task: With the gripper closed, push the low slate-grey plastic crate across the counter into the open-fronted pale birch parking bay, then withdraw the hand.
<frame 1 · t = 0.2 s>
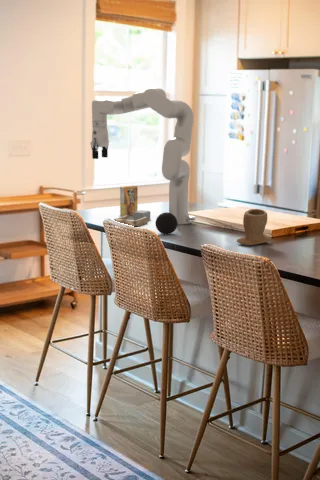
hand: (100, 158, 371), 31 cm above the kitchen island, tool pointing down, fingers open, 9 cm apart
bay: (130, 224, 355), on the kitchen island
speaker: (166, 234, 329), on the kitchen island
crate: (141, 220, 366), on the kitchen island
candy box: (129, 215, 383), on the kitchen island
stone cup: (255, 244, 307), on the kitchen island
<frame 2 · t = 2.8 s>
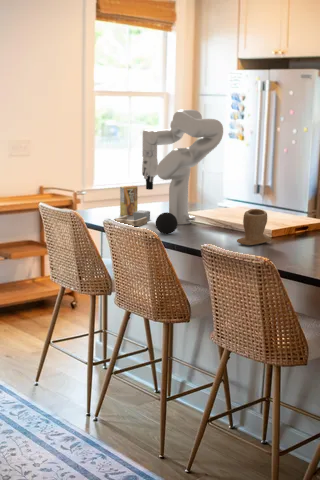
hand: (149, 189, 373), 15 cm above the kitchen island, tool pointing down, fingers closed
nothing on the kitchen island moved.
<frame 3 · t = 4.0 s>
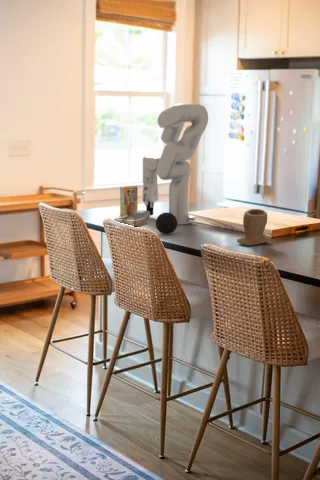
hand: (149, 214, 375), 1 cm above the kitchen island, tool pointing down, fingers closed
nothing on the kitchen island moved.
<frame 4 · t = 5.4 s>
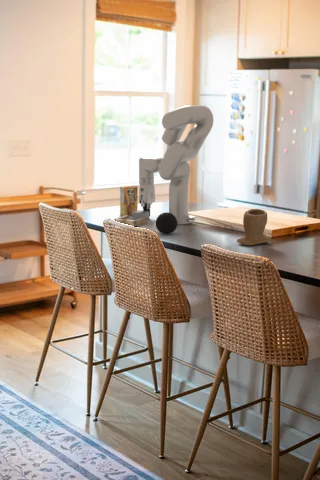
hand: (146, 216, 371), 1 cm above the kitchen island, tool pointing down, fingers closed
crate: (140, 220, 366), on the kitchen island, touching gripper
everything else where it was.
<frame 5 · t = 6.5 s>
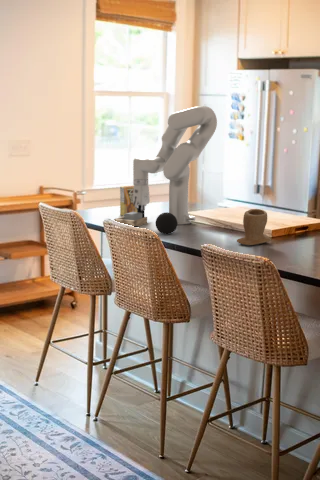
hand: (140, 218, 365), 1 cm above the kitchen island, tool pointing down, fingers closed
crate: (133, 222, 361), on the kitchen island
everything else where it was.
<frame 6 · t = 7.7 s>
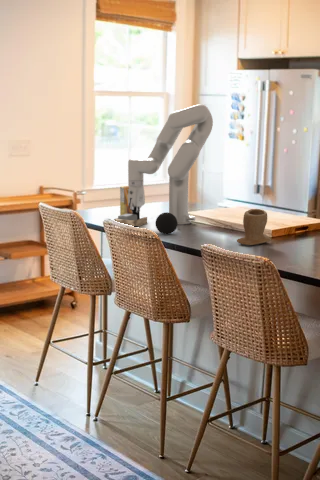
hand: (136, 219, 360), 1 cm above the kitchen island, tool pointing down, fingers closed
crate: (127, 224, 356), on the kitchen island, touching bay
everything else where it was.
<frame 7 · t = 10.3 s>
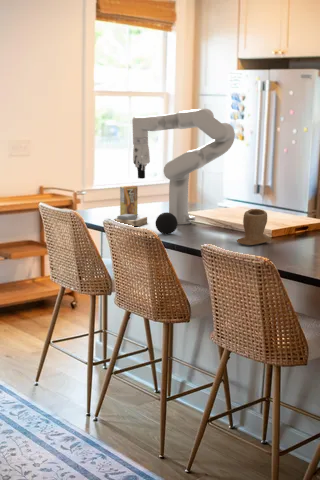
hand: (141, 178, 361), 22 cm above the kitchen island, tool pointing down, fingers closed
crate: (126, 224, 355), on the kitchen island
everything else where it was.
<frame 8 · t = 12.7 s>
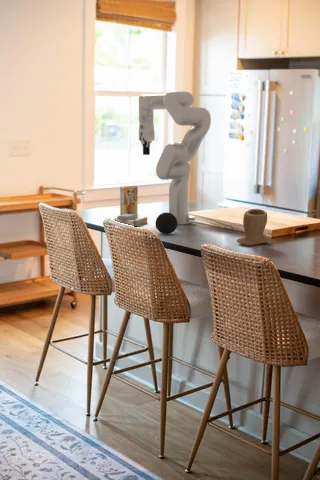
hand: (146, 154, 376), 32 cm above the kitchen island, tool pointing down, fingers closed
nothing on the kitchen island moved.
at the end: crate inside the target area on the bay (2.1 cm from its centre), point 0.0 cm above the bay's base; crate tilted 0° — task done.
